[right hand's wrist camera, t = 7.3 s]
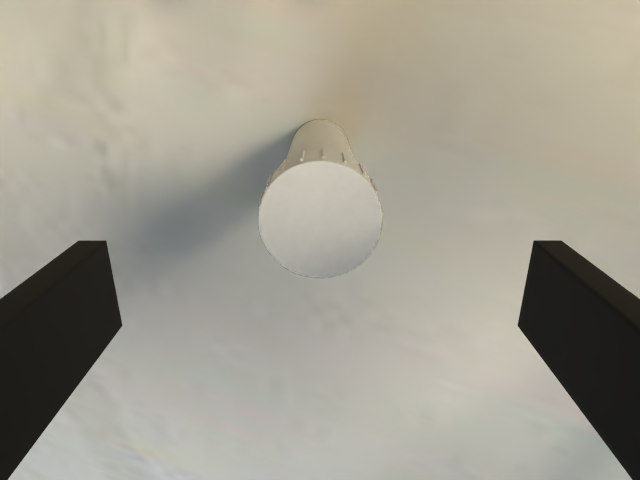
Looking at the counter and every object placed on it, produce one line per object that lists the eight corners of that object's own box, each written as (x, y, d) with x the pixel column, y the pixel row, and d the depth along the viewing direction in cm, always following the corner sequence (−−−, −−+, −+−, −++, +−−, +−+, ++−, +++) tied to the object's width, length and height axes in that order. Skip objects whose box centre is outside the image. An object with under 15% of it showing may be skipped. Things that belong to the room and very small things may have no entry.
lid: (382, 149, 19) (390, 162, 17) (370, 258, 21) (376, 283, 18) (264, 143, 19) (256, 155, 17) (263, 253, 21) (256, 277, 18)
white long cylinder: (350, 120, 32) (376, 171, 17) (346, 177, 33) (366, 267, 19) (292, 117, 32) (269, 165, 17) (291, 174, 33) (268, 262, 19)
